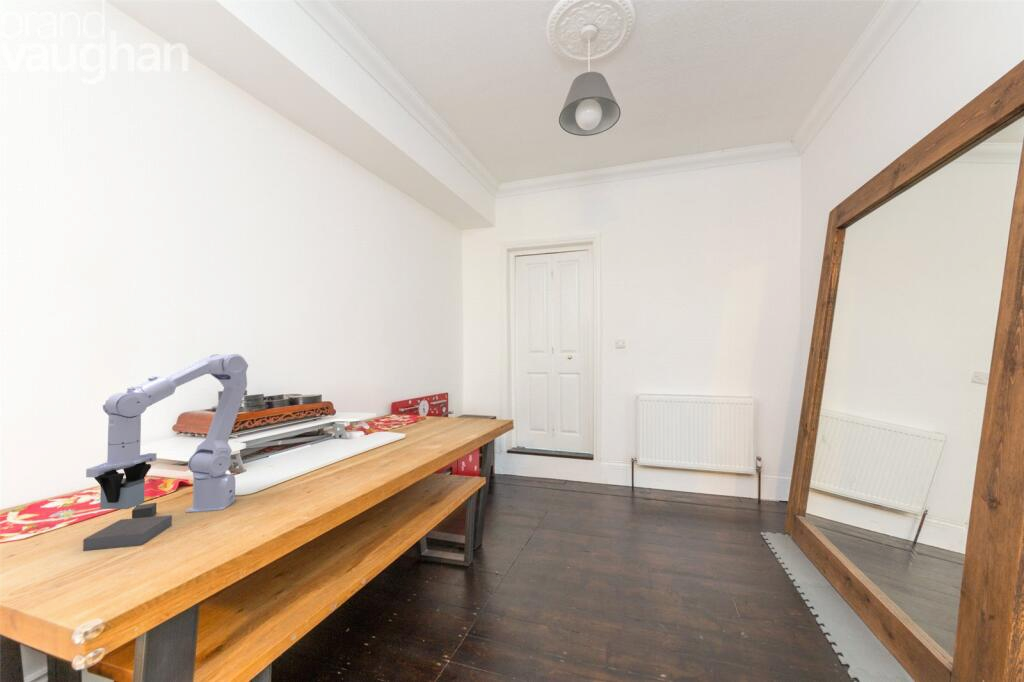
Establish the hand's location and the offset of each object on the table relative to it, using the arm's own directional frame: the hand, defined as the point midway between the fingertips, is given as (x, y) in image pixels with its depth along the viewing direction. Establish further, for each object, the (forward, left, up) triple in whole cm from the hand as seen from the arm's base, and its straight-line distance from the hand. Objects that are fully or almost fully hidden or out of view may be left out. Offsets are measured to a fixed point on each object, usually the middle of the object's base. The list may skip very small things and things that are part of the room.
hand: (123, 498), depth 96 cm
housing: (0, 0, -2) cm, 2 cm away
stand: (-3, +2, -9) cm, 9 cm away
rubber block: (+2, -12, -9) cm, 15 cm away
